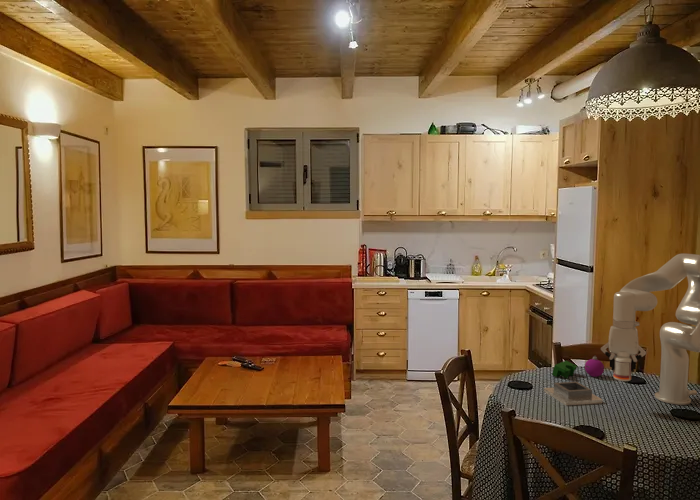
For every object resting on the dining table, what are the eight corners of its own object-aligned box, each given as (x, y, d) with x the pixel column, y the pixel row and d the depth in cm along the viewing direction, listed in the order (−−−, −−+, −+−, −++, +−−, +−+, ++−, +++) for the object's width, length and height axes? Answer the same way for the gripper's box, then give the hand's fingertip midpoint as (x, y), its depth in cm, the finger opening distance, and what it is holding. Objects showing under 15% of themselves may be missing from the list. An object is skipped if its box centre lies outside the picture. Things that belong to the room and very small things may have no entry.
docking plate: (578, 389, 225) (578, 379, 225) (602, 403, 210) (602, 392, 209) (543, 391, 223) (544, 381, 222) (565, 405, 207) (566, 394, 207)
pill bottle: (620, 375, 208) (621, 347, 207) (634, 380, 202) (635, 351, 201) (609, 377, 205) (610, 349, 204) (624, 382, 200) (624, 353, 199)
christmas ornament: (584, 372, 249) (585, 351, 248) (603, 374, 245) (604, 353, 245) (584, 377, 241) (585, 356, 240) (604, 380, 238) (605, 358, 237)
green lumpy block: (563, 387, 240) (565, 373, 236) (551, 381, 244) (552, 367, 240) (577, 373, 247) (578, 359, 242) (565, 367, 251) (566, 353, 246)
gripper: (648, 323, 202) (646, 369, 203) (598, 320, 209) (597, 364, 210) (650, 328, 195) (649, 375, 196) (599, 324, 202) (597, 370, 203)
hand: (622, 369), depth 203 cm, fingers closed on pill bottle, 6 cm apart
